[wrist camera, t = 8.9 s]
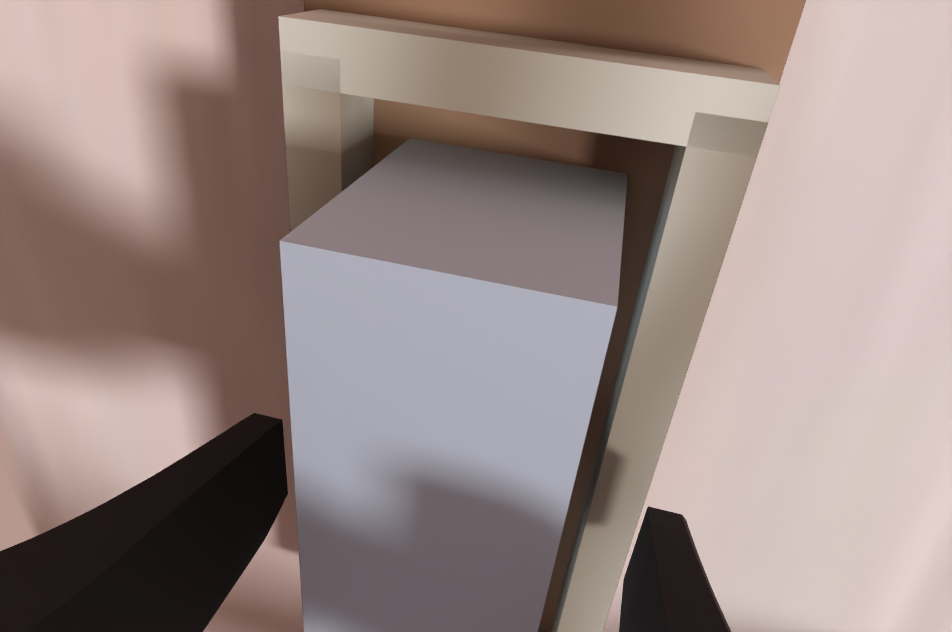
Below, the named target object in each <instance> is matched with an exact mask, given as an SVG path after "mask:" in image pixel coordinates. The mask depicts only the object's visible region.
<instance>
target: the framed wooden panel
mask: <svg viewBox="0 0 952 632" xmlns="http://www.w3.org/2000/svg"><path fill="white" fill-rule="evenodd" d="M805 2H806V0H304V12H300V13H294V14H288V15H282V16H278V20H279V38H280V56H281V74H282V92H283V110H284V128H285V147H286V165H287V183H288V201H289V219H290V232H291V231H292V230H294V229H295V228H296V227H298V226H299V225H300V224H301V223H303V222H304V221H305V220H307V219H308V218H309V217H310V216H312V215H313V214H314V213H315V212H317V211H318V210H319V209H321V208H322V207H323V206H324V205H326V204H327V203H328V202H329V201H331V200H332V199H333V198H335V197H336V196H337V195H338V194H340V193H341V192H342V191H343V190H345V189H346V188H347V187H349V186H350V185H351V184H352V183H354V182H355V181H356V180H357V179H359V178H360V177H361V176H363V175H364V174H365V173H366V172H368V171H369V170H370V169H371V168H373V167H374V166H375V165H377V164H378V163H379V162H380V161H382V160H383V159H384V158H385V157H387V156H388V155H389V154H391V153H392V152H393V151H394V150H396V149H397V148H398V147H399V146H401V145H402V144H403V143H405V142H406V141H407V140H408V139H410V138H414V139H420V140H426V141H432V142H438V143H444V144H450V145H456V146H462V147H468V148H474V149H480V150H486V151H492V152H498V153H504V154H510V155H516V156H522V157H529V158H535V159H541V160H547V161H553V162H559V163H565V164H571V165H577V166H583V167H589V168H595V169H601V170H607V171H613V172H619V173H625V174H628V176H627V189H626V202H625V215H624V228H623V241H622V255H621V268H620V281H619V294H618V307H617V311H616V315H615V319H614V323H613V327H612V331H611V335H610V339H609V344H608V348H607V352H606V356H605V360H604V364H603V368H602V372H601V376H600V380H599V384H598V388H597V392H596V397H595V401H594V405H593V409H592V413H591V417H590V421H589V425H588V429H587V433H586V437H585V441H584V445H583V449H582V454H581V458H580V462H579V466H578V470H577V474H576V478H575V482H574V486H573V490H572V494H571V498H570V502H569V507H568V511H567V515H566V519H565V523H564V527H563V531H562V535H561V539H560V543H559V547H558V551H557V555H556V559H555V564H554V568H553V572H552V576H551V580H550V584H549V588H548V592H547V596H546V600H545V604H544V608H543V612H542V617H541V621H540V625H539V629H538V632H602V631H603V628H604V625H605V622H606V619H607V616H608V613H609V610H610V607H611V604H612V601H613V597H614V594H615V591H616V588H617V585H618V582H619V579H620V576H621V573H622V570H623V567H624V564H625V561H626V558H627V554H628V551H629V548H630V545H631V542H632V539H633V536H634V533H635V530H636V527H637V524H638V521H639V518H640V515H641V512H642V508H643V505H644V502H645V499H646V496H647V493H648V490H649V487H650V484H651V481H652V478H653V475H654V472H655V469H656V465H657V462H658V459H659V456H660V453H661V450H662V447H663V444H664V441H665V438H666V435H667V432H668V429H669V426H670V422H671V419H672V416H673V413H674V410H675V407H676V404H677V401H678V398H679V395H680V392H681V389H682V386H683V383H684V380H685V376H686V373H687V370H688V367H689V364H690V361H691V358H692V355H693V352H694V349H695V346H696V343H697V340H698V337H699V333H700V330H701V327H702V324H703V321H704V318H705V315H706V312H707V309H708V306H709V303H710V300H711V297H712V294H713V291H714V287H715V284H716V281H717V278H718V275H719V272H720V269H721V266H722V263H723V260H724V257H725V254H726V251H727V248H728V244H729V241H730V238H731V235H732V232H733V229H734V226H735V223H736V220H737V217H738V214H739V211H740V208H741V205H742V201H743V198H744V195H745V192H746V189H747V186H748V183H749V180H750V177H751V174H752V171H753V168H754V165H755V162H756V159H757V155H758V152H759V149H760V146H761V143H762V140H763V137H764V134H765V131H766V128H767V125H768V122H769V119H770V116H771V112H772V109H773V106H774V103H775V100H776V97H777V94H778V91H779V88H780V85H779V82H780V79H781V76H782V73H783V70H784V67H785V64H786V61H787V57H788V54H789V51H790V48H791V45H792V42H793V39H794V36H795V33H796V30H797V27H798V24H799V20H800V17H801V14H802V11H803V8H804V5H805Z"/></svg>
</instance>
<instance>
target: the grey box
mask: <svg viewBox="0 0 952 632" xmlns="http://www.w3.org/2000/svg"><path fill="white" fill-rule="evenodd" d="M627 176H628V174H625V173H619V172H613V171H607V170H601V169H595V168H589V167H583V166H577V165H571V164H565V163H559V162H553V161H547V160H541V159H535V158H529V157H522V156H516V155H510V154H504V153H498V152H492V151H486V150H480V149H474V148H468V147H462V146H456V145H450V144H444V143H438V142H432V141H426V140H420V139H414V138H410V139H408V140H407V141H406V142H405V143H403V144H402V145H401V146H399V147H398V148H397V149H396V150H394V151H393V152H392V153H391V154H389V155H388V156H387V157H385V158H384V159H383V160H382V161H380V162H379V163H378V164H377V165H375V166H374V167H373V168H371V169H370V170H369V171H368V172H366V173H365V174H364V175H363V176H361V177H360V178H359V179H357V180H356V181H355V182H354V183H352V184H351V185H350V186H349V187H347V188H346V189H345V190H343V191H342V192H341V193H340V194H338V195H337V196H336V197H335V198H333V199H332V200H331V201H329V202H328V203H327V204H326V205H324V206H323V207H322V208H321V209H319V210H318V211H317V212H315V213H314V214H313V215H312V216H310V217H309V218H308V219H307V220H305V221H304V222H303V223H301V224H300V225H299V226H298V227H296V228H295V229H294V230H292V231H291V232H290V233H289V234H287V235H286V236H285V237H284V238H282V239H281V240H280V241H279V242H280V258H281V274H282V290H283V306H284V322H285V338H286V354H287V370H288V386H289V401H290V417H291V433H292V449H293V465H294V481H295V497H296V513H297V529H298V545H299V561H300V577H301V593H302V609H303V625H304V632H538V629H539V625H540V621H541V617H542V612H543V608H544V604H545V600H546V596H547V592H548V588H549V584H550V580H551V576H552V572H553V568H554V564H555V559H556V555H557V551H558V547H559V543H560V539H561V535H562V531H563V527H564V523H565V519H566V515H567V511H568V507H569V502H570V498H571V494H572V490H573V486H574V482H575V478H576V474H577V470H578V466H579V462H580V458H581V454H582V449H583V445H584V441H585V437H586V433H587V429H588V425H589V421H590V417H591V413H592V409H593V405H594V401H595V397H596V392H597V388H598V384H599V380H600V376H601V372H602V368H603V364H604V360H605V356H606V352H607V348H608V344H609V339H610V335H611V331H612V327H613V323H614V319H615V315H616V311H617V307H618V294H619V281H620V268H621V255H622V241H623V228H624V215H625V202H626V189H627Z"/></svg>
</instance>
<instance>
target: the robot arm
mask: <svg viewBox="0 0 952 632" xmlns="http://www.w3.org/2000/svg"><path fill="white" fill-rule="evenodd" d="M287 494H288V490H287V476H286V463H285V449H284V435H283V422H282V420H281V419H277V418H273V417H269V416H265V415H260V414H256V413H254V414H252V415H250V416H249V417H247V418H245V419H244V420H242V421H240V422H239V423H237V424H236V425H234V426H233V427H231V428H229V429H228V430H226V431H225V432H223V433H221V434H220V435H218V436H217V437H215V438H214V439H212V440H210V441H209V442H207V443H206V444H204V445H202V446H201V447H199V448H198V449H196V450H195V451H193V452H191V453H190V454H188V455H187V456H185V457H183V458H182V459H180V460H178V461H177V462H175V463H173V464H172V465H170V466H169V467H167V468H165V469H164V470H162V471H160V472H159V473H157V474H155V475H154V476H152V477H150V478H148V479H147V480H145V481H143V482H141V483H139V484H138V485H136V486H134V487H132V488H130V489H129V490H127V491H125V492H123V493H122V494H120V495H118V496H116V497H114V498H113V499H111V500H109V501H107V502H106V503H104V504H102V505H100V506H98V507H96V508H94V509H92V510H90V511H88V512H86V513H84V514H82V515H80V516H78V517H76V518H74V519H72V520H70V521H68V522H66V523H64V524H62V525H60V526H57V527H55V528H53V529H51V530H49V531H47V532H45V533H43V534H40V535H38V536H36V537H34V538H31V539H29V540H27V541H24V542H22V543H19V544H17V545H15V546H12V547H10V548H7V549H5V550H2V551H0V632H203V631H204V629H205V628H206V626H207V625H208V623H209V622H210V620H211V619H212V617H213V616H214V614H215V613H216V611H217V610H218V608H219V607H220V605H221V604H222V602H223V601H224V600H225V598H226V597H227V595H228V594H229V592H230V591H231V589H232V588H233V586H234V585H235V583H236V582H237V580H238V579H239V577H240V576H241V574H242V573H243V571H244V570H245V568H246V567H247V565H248V564H249V562H250V561H251V559H252V558H253V556H254V555H255V553H256V552H257V550H258V549H259V547H260V546H261V544H262V543H263V541H264V540H265V538H266V536H267V534H268V532H269V530H270V528H271V526H272V524H273V523H274V521H275V519H276V517H277V515H278V513H279V511H280V509H281V507H282V505H283V502H284V500H285V498H286V496H287ZM619 632H731V630H730V628H729V626H728V624H727V621H726V619H725V617H724V615H723V613H722V611H721V608H720V606H719V604H718V602H717V600H716V597H715V595H714V593H713V590H712V588H711V585H710V583H709V581H708V578H707V576H706V573H705V571H704V568H703V566H702V563H701V561H700V558H699V555H698V553H697V550H696V547H695V545H694V542H693V539H692V536H691V533H690V531H689V528H688V524H687V521H686V520H685V518H684V517H683V515H681V514H677V513H673V512H669V511H664V510H660V509H656V508H652V507H648V508H647V511H646V514H645V517H644V520H643V523H642V526H641V529H640V532H639V535H638V538H637V541H636V544H635V547H634V550H633V553H632V556H631V559H630V562H629V565H628V568H627V571H626V574H625V577H624V582H623V593H622V604H621V616H620V628H619Z"/></svg>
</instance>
